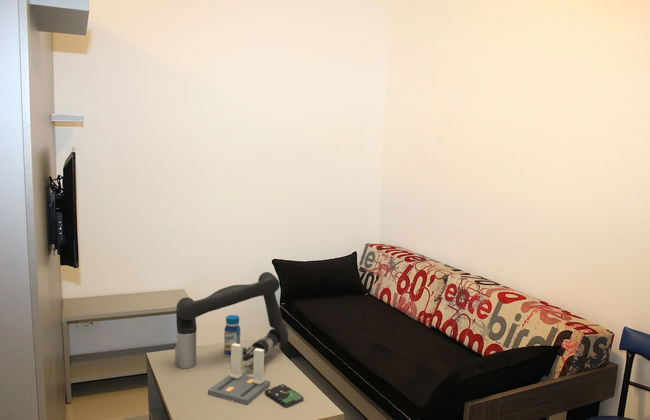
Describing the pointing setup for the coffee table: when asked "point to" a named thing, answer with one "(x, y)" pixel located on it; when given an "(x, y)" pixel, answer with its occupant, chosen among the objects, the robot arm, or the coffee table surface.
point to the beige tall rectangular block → (258, 366)
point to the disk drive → (284, 395)
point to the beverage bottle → (231, 333)
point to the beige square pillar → (236, 361)
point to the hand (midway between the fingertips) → (244, 359)
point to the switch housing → (238, 389)
